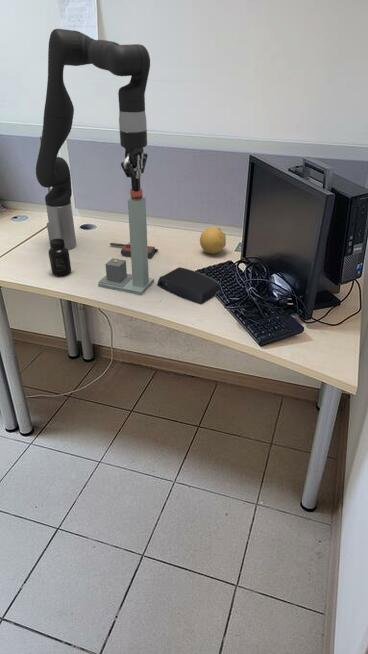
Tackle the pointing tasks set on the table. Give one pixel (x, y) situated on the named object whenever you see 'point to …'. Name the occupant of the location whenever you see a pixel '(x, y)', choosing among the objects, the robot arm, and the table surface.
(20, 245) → the table surface
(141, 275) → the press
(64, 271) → the supplement bottle
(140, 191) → the plunger
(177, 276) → the external hard drive
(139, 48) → the robot arm
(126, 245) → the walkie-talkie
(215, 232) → the stress ball
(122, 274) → the block
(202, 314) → the table surface
